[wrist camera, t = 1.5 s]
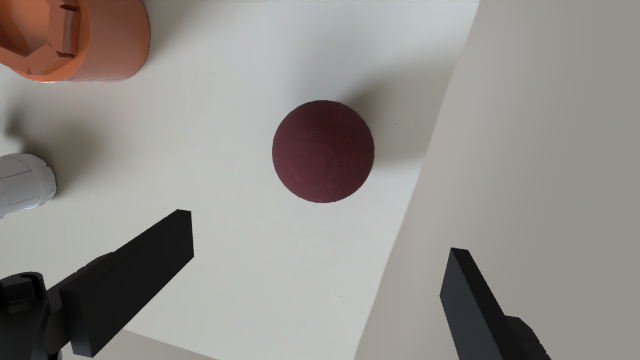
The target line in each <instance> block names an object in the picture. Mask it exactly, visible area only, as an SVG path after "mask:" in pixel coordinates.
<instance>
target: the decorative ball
mask: <svg viewBox="0 0 640 360" xmlns="http://www.w3.org/2000/svg"><path fill="white" fill-rule="evenodd" d="M374 150H375V148H374V142H373V137H372V135H371V132H370V129H369V127H368V126H367V124H366V123H365V121H364V120H363V119H362V118H361V117H360V116H359V115H358V114H357V113H356V112H355V111H354V110H352V109H351V108H349V107H348V106H346V105H343V104H341V103H338V102H334V101H328V100H317V101H312V102H308V103H305V104H303V105H301V106H299V107H297V108H296V109H294V110H293V111H291V112H290V113H289V114H288V115H287V116H286V117H285V118H284V120H283V121H282V122H281V123H280V125H279V127H278V129H277V130H276V133H275V136H274V139H273V147H272V157H273V163H274V167H275V170H276V173H277V175H278V177H279V179H280V180H281V181H282V183H283V184H284V185H285V186H286V187H287V188H288V189H289V190H290V191H291V192H292V193H294V194H295V195H297V196H298V197H300V198H302V199H305V200H307V201H311V202H316V203H330V202H336V201H339V200H341V199H344V198H346V197H348V196H350V195H351V194H353V193H354V192H356V191H357V190H358V189H359V188H360V187H361V186H362V185H363V183H364V182H365V181H366V179H367V177H368V175H369V173H370V171H371V169H372V165H373V161H374Z"/></svg>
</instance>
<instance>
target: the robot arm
mask: <svg viewBox="0 0 640 360" xmlns="http://www.w3.org/2000/svg"><path fill="white" fill-rule="evenodd" d="M193 257H194V249H193V234H192V219H191V211H187V210H179V209H177V210H176V211H174V212H173V213H171V214H170V215H168V216H167V217H165V218H164V219H162V220H161V221H159V222H158V223H156V224H155V225H153V226H152V227H150V228H149V229H147V230H146V231H144V232H143V233H141V234H140V235H138V236H137V237H135V238H134V239H132V240H131V241H129V242H128V243H126V244H125V245H123V246H122V247H120V248H119V249H117V250H116V251H114V252H110V253H107V254H105V255H102V256H100V257H97V258H96V259H94V260H93V261H91V262H90V263H88V264H87V265H86V266H84V267H82V268H80V269H79V270H77V272H76V273H75V272H74V273H73V274H71V275H70V276H68V277H67V278H65V279H64V280H62V281H60V282H59V283H57V284H56V285H54V286H53V287H51V288H50V289H48V290H47V291H46V288H45V284H44V280H43V276H42V274H40V273H38V272H23V273H18V274H15V275H11V276H8V277H6V278H4V279H1V280H0V360H62V352H61V348H63V347H64V346H65V345H66V344H67V343H68V342H69V341H71V345H72V349H73V353H74V354H77V355H81V356H86V357H91V358H93V357H94V356H95V355H96V354H97V353H98V352H99V351H100V350H101V349H102V348H103V347H104V346H105V345H106V344H107V343H108V342H109V341H110V340H111V339H112V338H113V337H114V336H115V335H116V334H117V333H118V332H119V331H120V330H121V329H122V328H123V327H124V326H125V325H126V324H127V323H128V322H129V321H130V320H131V319H132V318H133V317H134V316H135V315H136V314H137V313H138V312H139V311H140V310H141V309H142V308H143V307H144V306H145V305H146V304H147V303H148V302H149V301H150V300H151V299H152V298H153V297H154V296H155V295H156V294H157V293H158V292H159V291H160V290H161V289H162V288H163V287H164V286H165V285H166V284H167V283H168V282H169V281H170V280H171V279H172V278H173V277H174V276H175V275H176V274H177V273H178V272H179V271H180V270H181V269H182V268H183V267H184V266H185V265H186V264H187V263H188V262H189V261H190V260H191V259H192V258H193ZM440 299H441V302H442V305H443V308H444V311H445V315H446V318H447V321H448V325H449V327H450V331H451V334H452V337H453V341H454V344H455V347H456V350H457V353H458V357H459V360H551V358H550V357H549V355H548V354H546V351H545V349H544V348H543V346H542V344H540V341H539V340H538V338H537V337H536V335H535V333H534V332H533V330H532V329H531V328H530V327H529V326H528V325H527V324H526V323H524V322H523V321H522V320H521V319H520V318H518V317H512V316H506V315H504V313H503V312H502V310H501V308H500V306H499V304H498V302H497V301H496V299H495V297H494V295H493V294H492V292H491V290H490V288H489V286H488V285H487V283H486V281H485V279H484V278H483V276H482V274H481V272H480V271H479V269H478V267H477V265H476V263H475V261H474V260H473V258H472V256H471V255H470V253H469V251H468V250H465V249H458V248H451V250H450V254H449V258H448V262H447V267H446V271H445V276H444V279H443V284H442V288H441V292H440Z"/></svg>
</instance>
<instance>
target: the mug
mask: <svg viewBox="0 0 640 360" xmlns="http://www.w3.org/2000/svg"><path fill="white" fill-rule="evenodd" d="M56 189H57V187H56V183H55V176H54V173H53V171H52V170H51V168H50V167H49V166H47V164H46V163H45V162H44V161H43V160H42V159H40V158H38V157H36V156H34V155H32V154H16V153H15V154H8V155H4V156H2V157H0V219H2V218H3V217H4V216H5V215H6V214H9V213H12V212H15V211H18V210H21V209H24V208H25V209H32V208H36V207H39V206H41V205H43V204H44V203H45V202H46V201H48V200H50V199H51V198H52V197H53V196H54V195H55V193H56Z"/></svg>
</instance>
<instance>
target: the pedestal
mask: <svg viewBox="0 0 640 360" xmlns="http://www.w3.org/2000/svg"><path fill="white" fill-rule="evenodd" d="M149 46H150V26H149V21H148V16H147V13H146V10H145V8H144V5H143V3H142V1H141V0H0V63H1V64H4V65H6V66H8V67H10V68H11V69H12V70H14V71H15V72H17V73H18V74H20V75H22V76H24V77H26V78H28V79H31V80H33V81H37V82H43V83H79V82H119V81H123V80H126V79H128V78H130V77H131V76H133V75H134V74H135V73H136V72H137V71H138V70H139V69H140V68H141V67H142V65H143V63H144V62H145V60H146V57H147V55H148V51H149Z"/></svg>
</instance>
